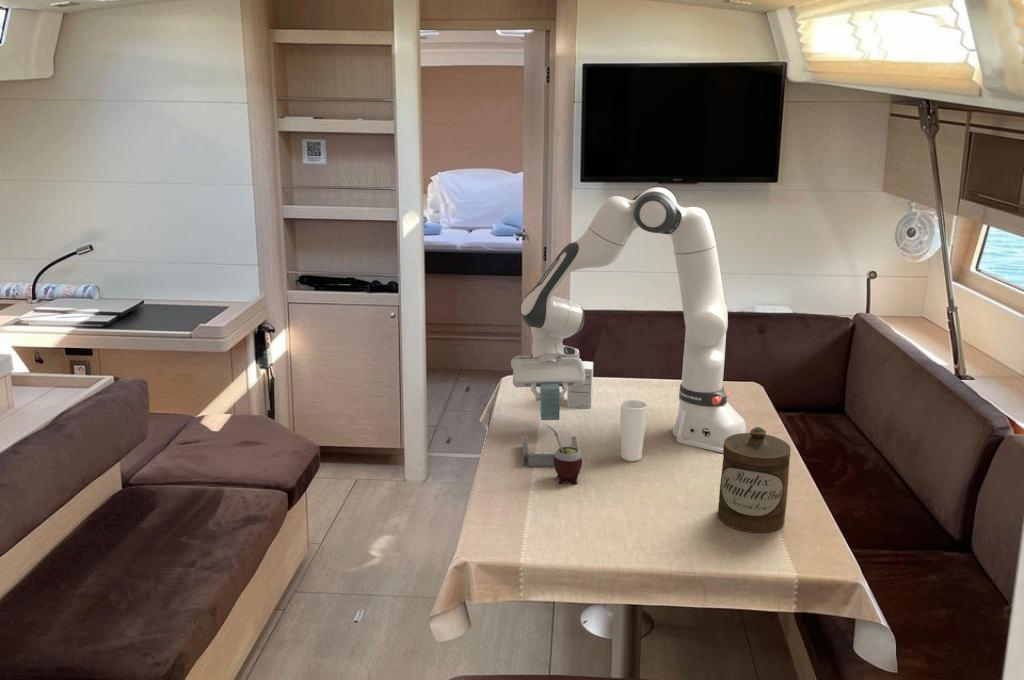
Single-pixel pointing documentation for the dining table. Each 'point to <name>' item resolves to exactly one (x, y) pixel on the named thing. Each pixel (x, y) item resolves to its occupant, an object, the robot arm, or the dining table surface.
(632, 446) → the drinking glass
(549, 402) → the block
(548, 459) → the coupler bay
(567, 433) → the dining table surface
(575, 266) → the robot arm
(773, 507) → the wooden container
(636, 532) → the dining table surface
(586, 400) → the supplement box
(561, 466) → the mate gourd
